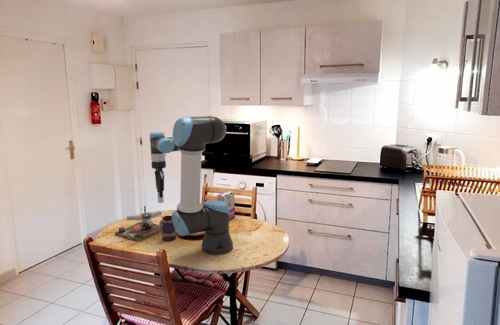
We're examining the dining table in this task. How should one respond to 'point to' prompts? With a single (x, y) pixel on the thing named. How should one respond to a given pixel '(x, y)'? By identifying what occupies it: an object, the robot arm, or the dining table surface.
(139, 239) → the walnut stand
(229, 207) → the candy bar box
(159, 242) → the dining table surface
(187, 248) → the dining table surface
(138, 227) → the ball
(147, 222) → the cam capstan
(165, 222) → the mug
